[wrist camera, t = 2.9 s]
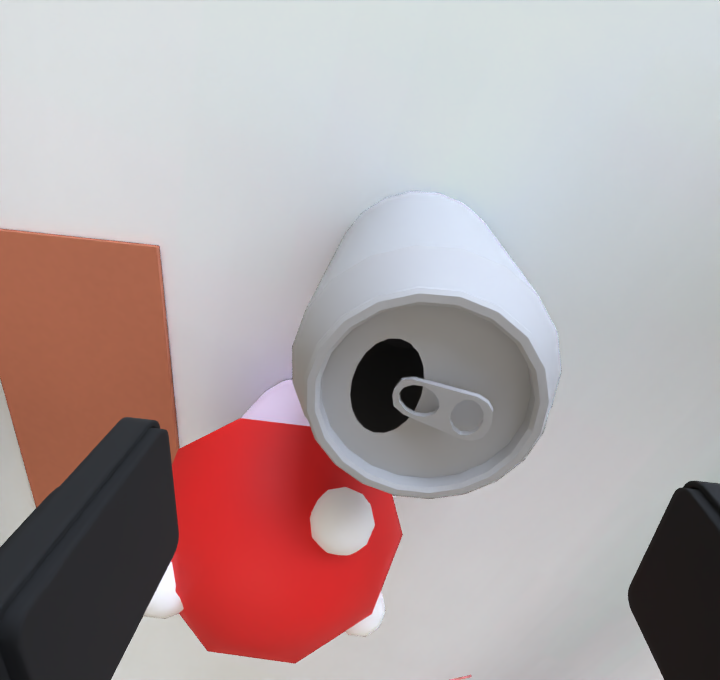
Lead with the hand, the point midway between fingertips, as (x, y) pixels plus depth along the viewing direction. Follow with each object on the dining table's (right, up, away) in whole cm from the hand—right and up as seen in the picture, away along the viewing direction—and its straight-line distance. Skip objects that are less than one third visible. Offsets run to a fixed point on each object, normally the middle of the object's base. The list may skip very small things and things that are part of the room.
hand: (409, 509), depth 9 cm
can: (+2, +7, +14) cm, 16 cm away
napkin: (-17, -1, +19) cm, 25 cm away
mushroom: (-4, -2, +18) cm, 19 cm away
